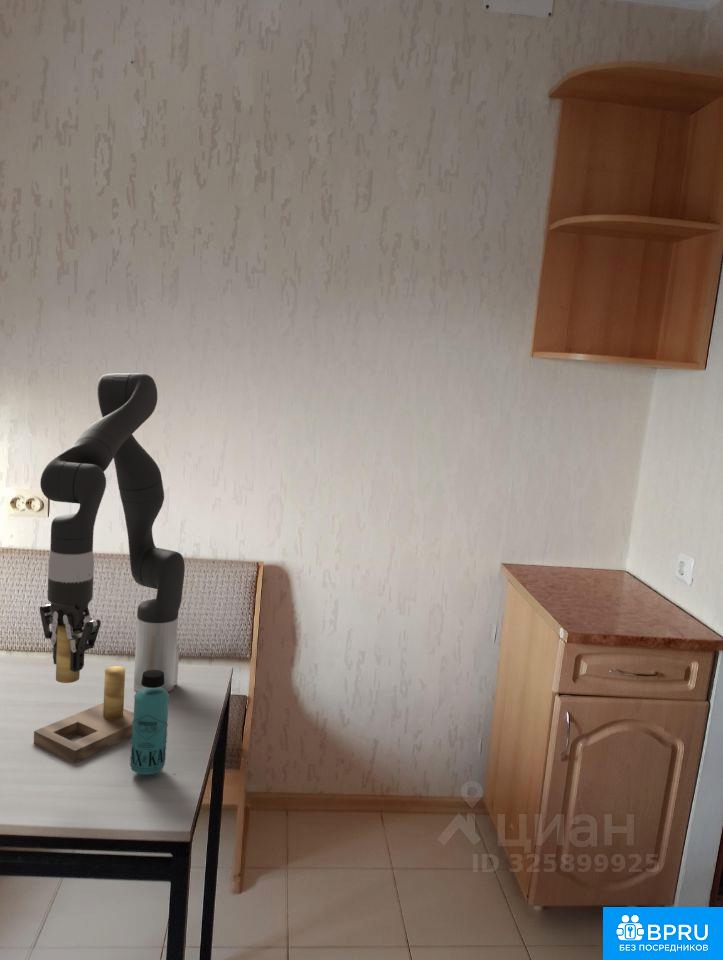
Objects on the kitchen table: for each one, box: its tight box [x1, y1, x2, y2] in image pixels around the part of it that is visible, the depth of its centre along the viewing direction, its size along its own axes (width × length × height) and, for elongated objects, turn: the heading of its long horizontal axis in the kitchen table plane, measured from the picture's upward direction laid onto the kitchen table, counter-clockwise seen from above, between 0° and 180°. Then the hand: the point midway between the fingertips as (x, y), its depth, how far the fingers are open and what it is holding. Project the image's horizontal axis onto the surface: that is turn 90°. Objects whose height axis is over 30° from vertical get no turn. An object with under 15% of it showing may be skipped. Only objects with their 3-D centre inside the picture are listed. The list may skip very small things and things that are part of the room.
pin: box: [55, 625, 81, 684], centre depth 142 cm, size 4×4×10 cm
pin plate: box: [33, 665, 134, 764], centre depth 159 cm, size 18×12×12 cm, turn 149°
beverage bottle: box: [129, 670, 170, 775], centre depth 147 cm, size 6×7×20 cm
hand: (68, 666), depth 142 cm, fingers closed on pin, 4 cm apart
